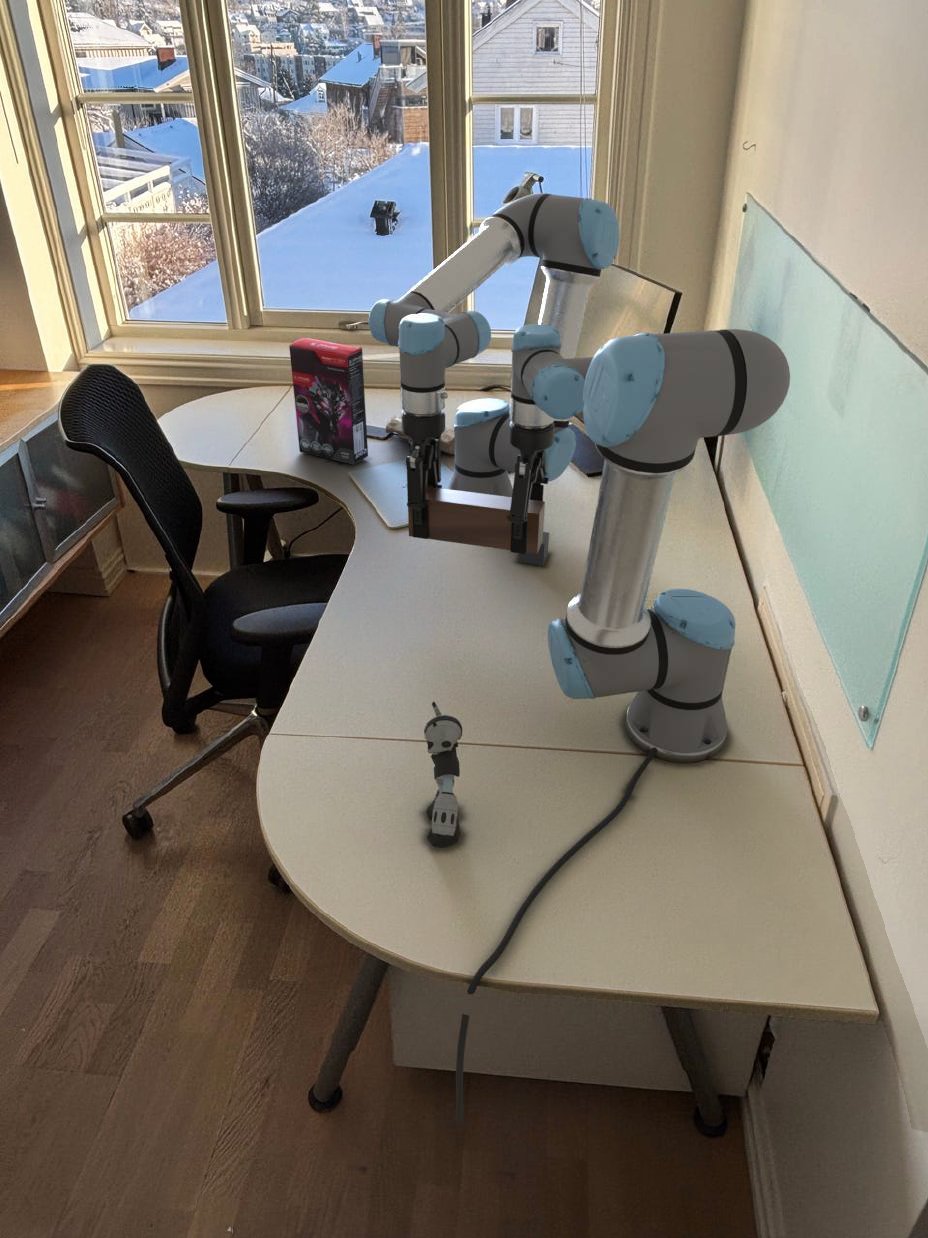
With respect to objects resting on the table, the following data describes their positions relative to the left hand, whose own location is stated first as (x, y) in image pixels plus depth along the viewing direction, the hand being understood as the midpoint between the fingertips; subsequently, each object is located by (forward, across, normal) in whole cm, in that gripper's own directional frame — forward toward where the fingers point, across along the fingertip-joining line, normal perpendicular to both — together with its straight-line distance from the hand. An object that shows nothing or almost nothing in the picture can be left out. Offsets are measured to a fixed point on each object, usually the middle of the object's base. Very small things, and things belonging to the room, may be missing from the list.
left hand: (425, 529), depth 170 cm
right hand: (-2, 0, -19) cm, 19 cm away
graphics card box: (+13, +53, +40) cm, 68 cm away
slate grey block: (+13, +17, -18) cm, 27 cm away
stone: (+13, +66, +22) cm, 71 cm away
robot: (+13, -58, -20) cm, 63 cm away
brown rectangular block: (0, 0, -10) cm, 10 cm away
